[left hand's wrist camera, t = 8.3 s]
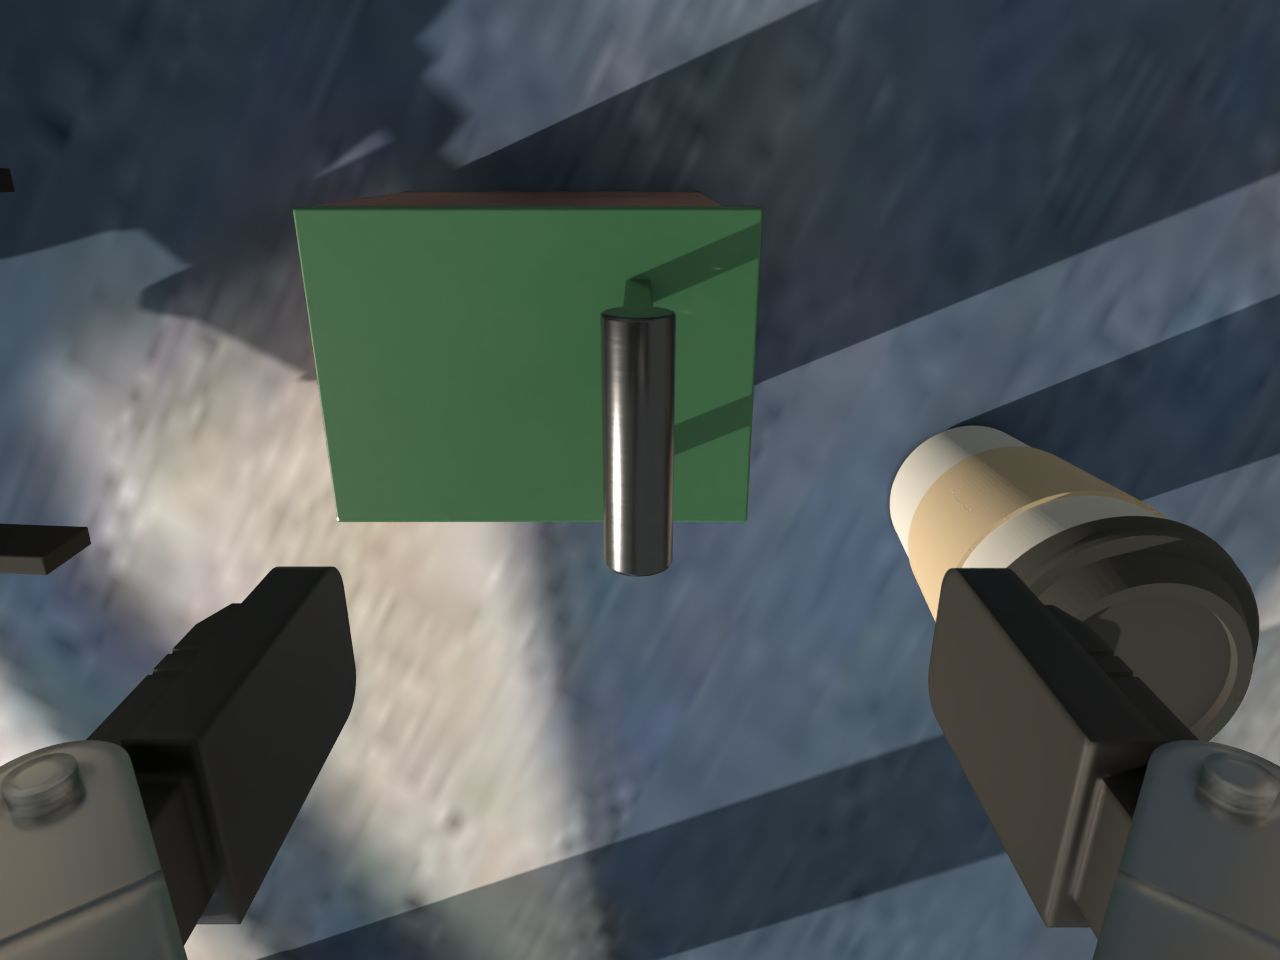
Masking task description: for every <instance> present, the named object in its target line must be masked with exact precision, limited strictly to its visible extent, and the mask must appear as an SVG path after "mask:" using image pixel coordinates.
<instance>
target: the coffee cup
mask: <svg viewBox="0 0 1280 960" xmlns="http://www.w3.org/2000/svg"><path fill="white" fill-rule="evenodd" d="M890 513H891V518H892V522H893V525H894V528H895V530H896V532H897V534H898V536H899V538H900V540H901V542H902V545H903V547H904V549H905V551H906V553H907V555H908V557H909V560H910V564H911V567H912V570H913V573H914V575H915V577H916V580H917V582H918V584H919V586H920V588H921V591H922V593H923V595H924V597H925V599H926V602H927V604H928V606H929V608H930V610H931V613H932V615H933V617H934V619H935V621H936V617H937V610H938V604H939V597H940V590H941V584H942V581H943V577H944V575H945V573H946V572H947V571H948V570H949V569H950V568H1009V569H1011V570H1013V571H1014V572H1015V573H1016V574H1017V576H1018V577H1019V578H1020V579H1021V580H1022V581H1023V582H1024V583H1025V584H1026V585H1027V587H1028V588H1029V589H1030V590H1031V591H1032V592H1033V593H1034V594H1035V595H1036V597H1037V598H1038V599H1039V600H1040V601H1041V602H1042V603H1043V604H1044V605H1054V606H1056V607H1058V608H1059V609H1061V610H1063V611H1064V612H1066V613H1068V614H1070V615H1071V616H1073V617H1075V618H1077V619H1078V620H1080V621H1082V622H1083V623H1085V624H1087V625H1089V626H1090V627H1091V628H1092V629H1093V630H1094V631H1095V632H1096V633H1097V634H1098V635H1099V636H1100V637H1101V638H1102V640H1103V641H1104V642H1105V643H1106V644H1107V645H1108V646H1109V647H1110V648H1111V649H1112V650H1113V655H1114V656H1119V657H1120V658H1121V659H1122V660H1123V661H1124V662H1125V663H1126V665H1127V666H1128V667H1129V668H1130V669H1131V670H1132V671H1133V676H1134V677H1139V678H1140V679H1141V680H1142V681H1143V682H1144V683H1145V684H1146V685H1147V686H1148V687H1149V688H1150V689H1151V691H1152V692H1153V693H1154V694H1155V695H1156V696H1157V697H1158V698H1159V699H1160V700H1161V701H1162V702H1163V703H1164V704H1165V705H1166V706H1167V707H1168V708H1169V709H1170V710H1171V711H1172V712H1173V713H1174V714H1175V715H1176V717H1177V718H1178V719H1179V720H1180V721H1181V722H1182V723H1183V724H1184V725H1185V726H1186V727H1187V728H1188V729H1189V730H1190V731H1191V732H1192V733H1193V734H1194V735H1195V736H1196V737H1197V738H1198V739H1199V740H1200V741H1207V742H1208V741H1209V740H1211V739H1212V738H1213V737H1214V736H1215V735H1216V734H1217V733H1218V732H1219V731H1220V730H1221V729H1222V728H1223V727H1224V726H1225V725H1226V724H1227V723H1228V721H1229V720H1230V719H1231V717H1232V716H1233V715H1234V713H1235V712H1236V710H1237V709H1238V707H1239V705H1240V704H1241V702H1242V700H1243V698H1244V696H1245V694H1246V691H1247V689H1248V686H1249V683H1250V679H1251V674H1252V669H1253V663H1254V659H1255V656H1256V651H1257V646H1258V639H1259V615H1258V609H1257V604H1256V600H1255V597H1254V594H1253V592H1252V589H1251V587H1250V585H1249V583H1248V581H1247V580H1246V578H1245V576H1244V575H1243V573H1242V572H1241V571H1240V569H1239V568H1238V567H1237V566H1236V564H1235V562H1234V561H1233V560H1232V558H1231V557H1230V556H1229V555H1228V553H1227V552H1226V551H1225V550H1224V549H1223V548H1222V547H1221V546H1220V545H1219V544H1217V543H1216V542H1215V541H1214V540H1212V539H1211V538H1210V537H1208V536H1207V535H1205V534H1203V533H1202V532H1200V531H1198V530H1196V529H1194V528H1192V527H1189V526H1187V525H1185V524H1182V523H1179V522H1176V521H1172V520H1168V519H1167V518H1166V517H1164V516H1163V515H1162V514H1161V513H1160V512H1158V511H1157V510H1156V509H1154V508H1152V507H1151V506H1149V505H1148V504H1146V503H1144V502H1142V501H1140V500H1138V499H1136V498H1134V497H1132V496H1131V495H1129V494H1127V493H1125V492H1123V491H1121V490H1119V489H1117V488H1115V487H1114V486H1112V485H1110V484H1108V483H1106V482H1104V481H1102V480H1100V479H1098V478H1097V477H1095V476H1093V475H1091V474H1089V473H1087V472H1085V471H1083V470H1081V469H1080V468H1078V467H1076V466H1074V465H1072V464H1070V463H1068V462H1066V461H1065V460H1063V459H1061V458H1059V457H1057V456H1055V455H1053V454H1051V453H1049V452H1046V451H1043V450H1039V449H1036V448H1032V447H1030V446H1028V445H1026V444H1024V443H1023V442H1021V441H1019V440H1017V439H1015V438H1014V437H1012V436H1010V435H1008V434H1006V433H1004V432H1002V431H1000V430H997V429H994V428H990V427H985V426H962V427H957V428H953V429H949V430H946V431H943V432H941V433H939V434H937V435H935V436H933V437H931V438H929V439H928V440H926V441H925V442H924V443H922V444H921V445H920V446H918V447H917V448H916V449H915V450H914V451H913V452H912V453H911V454H910V455H909V456H908V458H907V459H906V460H905V462H904V463H903V464H902V466H901V468H900V469H899V471H898V473H897V475H896V478H895V480H894V483H893V486H892V490H891V496H890Z"/></svg>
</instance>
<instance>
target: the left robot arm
mask: <svg viewBox="0 0 1280 960" xmlns="http://www.w3.org/2000/svg"><path fill="white" fill-rule="evenodd" d="M928 684H929V695H930V701H931V705H932V709H933V712H934V715H935V717H936V720H937V721H938V723H939V725H940V727H941V729H942V731H943V733H944V735H945V737H946V739H947V740H948V742H949V744H950V746H951V748H952V750H953V752H954V754H955V756H956V757H957V759H958V761H959V763H960V765H961V767H962V769H963V771H964V773H965V774H966V776H967V778H968V780H969V782H970V784H971V786H972V788H973V790H974V791H975V793H976V795H977V797H978V799H979V801H980V803H981V805H982V807H983V809H984V810H985V812H986V814H987V816H988V818H989V820H990V822H991V824H992V826H993V827H994V829H995V831H996V833H997V835H998V837H999V839H1000V841H1001V843H1002V844H1003V846H1004V848H1005V850H1006V852H1007V854H1008V856H1009V858H1010V860H1011V862H1012V863H1013V865H1014V867H1015V869H1016V871H1017V873H1018V875H1019V877H1020V879H1021V880H1022V882H1023V884H1024V886H1025V888H1026V890H1027V892H1028V894H1029V896H1030V897H1031V899H1032V901H1033V903H1034V905H1035V907H1036V909H1037V911H1038V913H1039V915H1040V916H1041V918H1042V920H1043V922H1044V924H1045V926H1046V927H1091V929H1092V930H1093V932H1094V934H1095V936H1096V937H1097V939H1098V942H1097V945H1096V949H1095V952H1094V956H1093V960H1280V767H1279V766H1278V765H1276V764H1274V763H1272V762H1270V761H1268V760H1266V759H1264V758H1261V757H1259V756H1257V755H1255V754H1252V753H1249V752H1247V751H1244V750H1241V749H1238V748H1234V747H1231V746H1228V745H1223V744H1219V743H1214V742H1207V741H1200V740H1199V739H1198V738H1197V737H1196V736H1195V735H1194V734H1193V733H1192V732H1191V731H1190V730H1189V729H1188V728H1187V727H1186V726H1185V725H1184V724H1183V723H1182V722H1181V721H1180V720H1179V719H1178V718H1177V717H1176V715H1175V714H1174V713H1173V712H1172V711H1171V710H1170V709H1169V708H1168V707H1167V706H1166V705H1165V704H1164V703H1163V702H1162V701H1161V700H1160V699H1159V698H1158V697H1157V696H1156V695H1155V694H1154V693H1153V692H1152V691H1151V689H1150V688H1149V687H1148V686H1147V685H1146V684H1145V683H1144V682H1143V681H1142V680H1141V679H1140V678H1139V677H1134V676H1133V671H1132V670H1131V669H1130V668H1129V667H1128V666H1127V665H1126V663H1125V662H1124V661H1123V660H1122V659H1121V658H1120V657H1119V656H1114V655H1113V650H1112V649H1111V648H1110V647H1109V646H1108V645H1107V644H1106V643H1105V642H1104V641H1103V640H1102V638H1101V637H1100V636H1099V635H1098V634H1097V633H1096V632H1095V631H1094V630H1093V629H1092V628H1091V627H1090V626H1089V625H1087V624H1085V623H1083V622H1082V621H1080V620H1078V619H1077V618H1075V617H1073V616H1071V615H1070V614H1068V613H1066V612H1064V611H1063V610H1061V609H1059V608H1058V607H1056V606H1054V605H1044V604H1043V603H1042V602H1041V601H1040V600H1039V599H1038V598H1037V597H1036V595H1035V594H1034V593H1033V592H1032V591H1031V590H1030V589H1029V588H1028V587H1027V585H1026V584H1025V583H1024V582H1023V581H1022V580H1021V579H1020V578H1019V577H1018V576H1017V574H1016V573H1015V572H1014V571H1013V570H1011V569H1009V568H950V569H949V570H948V571H947V572H946V573H945V575H944V577H943V581H942V584H941V590H940V597H939V604H938V610H937V617H936V624H935V631H934V638H933V644H932V651H931V658H930V665H929V675H928ZM355 687H356V669H355V661H354V654H353V647H352V640H351V633H350V626H349V619H348V612H347V606H346V599H345V592H344V585H343V581H342V577H341V575H340V573H339V571H338V570H337V569H336V568H335V567H275V568H273V569H272V570H271V571H270V572H269V573H268V574H267V575H266V577H265V578H264V579H263V580H262V581H261V582H260V583H259V584H258V585H257V587H256V588H255V589H254V590H253V591H252V592H251V593H250V594H249V596H248V597H247V598H246V599H245V600H244V601H243V602H242V603H232V604H230V605H229V606H227V607H225V608H223V609H222V610H220V611H218V612H217V613H215V614H213V615H211V616H210V617H208V618H206V619H205V620H203V621H201V622H199V623H198V624H196V625H195V626H194V627H193V628H192V629H191V630H190V631H189V632H188V633H187V634H186V636H185V637H184V638H183V639H182V640H181V641H180V642H179V643H178V644H177V645H176V646H175V647H174V648H173V653H172V654H167V655H166V656H165V658H164V659H163V660H162V661H161V662H160V663H159V664H158V665H157V666H156V667H155V668H154V669H153V674H152V675H147V676H146V677H145V679H144V680H143V681H142V682H141V683H140V684H139V685H138V686H137V687H136V688H135V689H134V690H133V691H132V692H131V693H130V694H129V695H128V696H127V697H126V698H125V700H124V701H123V702H122V703H121V704H120V705H119V706H118V707H117V708H116V709H115V710H114V711H113V712H112V713H111V714H110V715H109V716H108V717H107V718H106V719H105V721H104V722H103V723H102V724H101V725H100V726H99V727H98V728H97V729H96V730H95V731H94V732H93V733H92V734H91V735H90V736H89V737H88V738H87V739H86V740H81V741H73V742H66V743H61V744H57V745H52V746H49V747H46V748H42V749H39V750H36V751H33V752H31V753H28V754H25V755H23V756H21V757H19V758H16V759H14V760H12V761H10V762H8V763H6V764H4V765H2V766H1V767H0V960H187V956H186V952H185V949H184V945H185V943H186V941H187V940H188V938H189V936H190V934H191V933H192V931H193V929H194V927H195V926H196V924H241V922H242V920H243V918H244V916H245V914H246V912H247V910H248V908H249V907H250V905H251V903H252V901H253V899H254V897H255V895H256V893H257V891H258V889H259V887H260V885H261V884H262V882H263V880H264V878H265V876H266V874H267V872H268V870H269V868H270V866H271V864H272V862H273V861H274V859H275V857H276V855H277V853H278V851H279V849H280V847H281V845H282V843H283V841H284V840H285V838H286V836H287V834H288V832H289V830H290V828H291V826H292V824H293V822H294V820H295V818H296V817H297V815H298V813H299V811H300V809H301V807H302V805H303V803H304V801H305V799H306V797H307V795H308V794H309V792H310V790H311V788H312V786H313V784H314V782H315V780H316V778H317V776H318V774H319V772H320V771H321V769H322V767H323V765H324V763H325V761H326V759H327V757H328V755H329V753H330V751H331V749H332V748H333V746H334V744H335V742H336V740H337V738H338V736H339V734H340V732H341V730H342V728H343V726H344V725H345V723H346V721H347V719H348V717H349V714H350V712H351V709H352V705H353V701H354V696H355Z"/></svg>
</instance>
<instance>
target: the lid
mask: <svg viewBox="0 0 1280 960" xmlns="http://www.w3.org/2000/svg"><path fill="white" fill-rule="evenodd" d="M293 213H294V220H295V227H296V234H297V241H298V248H299V255H300V262H301V269H302V276H303V283H304V290H305V297H306V304H307V311H308V318H309V325H310V332H311V339H312V346H313V353H314V360H315V367H316V374H317V381H318V388H319V395H320V402H321V409H322V416H323V423H324V430H325V437H326V444H327V451H328V458H329V465H330V472H331V479H332V486H333V492H334V499H335V506H336V513H337V520H338V522H604V560H605V563H606V565H607V567H608V568H609V569H611V570H612V571H614V572H616V573H619V574H623V575H628V576H649V575H654V574H658V573H660V572H663V571H664V570H666V569H667V568H668V567H669V566H670V565H671V563H672V549H673V522H745V521H747V512H748V492H749V473H750V453H751V433H752V414H753V394H754V374H755V355H756V335H757V315H758V295H759V276H760V256H761V236H762V217H763V210H762V209H761V208H759V207H756V206H307V207H300V208H295V209H293Z"/></svg>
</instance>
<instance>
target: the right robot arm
mask: <svg viewBox="0 0 1280 960" xmlns="http://www.w3.org/2000/svg"><path fill="white" fill-rule="evenodd" d="M0 192H15V191H14V187H13V182H12V177H11V173H10V169H6V168H0ZM90 544H91V541H90V537H89V532H88V528H87V527H71V526H45V525H18V524H0V573H12V574H39V575H47V574H49V573H50V572H52V571H53V570H55V569H56V568H57V567H59V566H60V565H62V564H63V563H65V562H66V561H67V560H69V559H70V558H72V557H73V556H74V555H76V554H77V553H79V552H80V551H82V550H83V549H84V548H86V547H87V546H89V545H90Z"/></svg>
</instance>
